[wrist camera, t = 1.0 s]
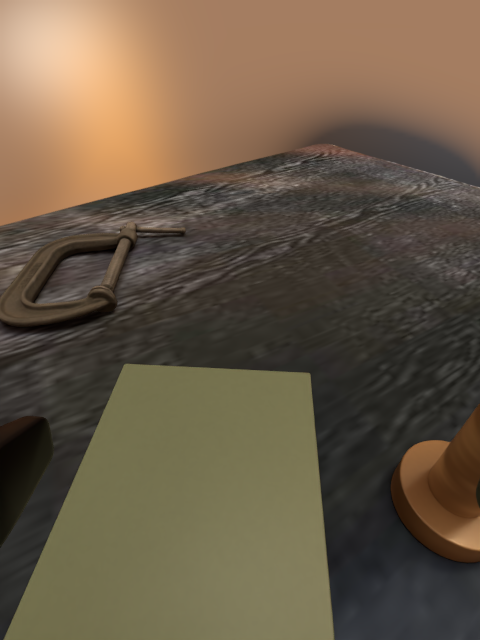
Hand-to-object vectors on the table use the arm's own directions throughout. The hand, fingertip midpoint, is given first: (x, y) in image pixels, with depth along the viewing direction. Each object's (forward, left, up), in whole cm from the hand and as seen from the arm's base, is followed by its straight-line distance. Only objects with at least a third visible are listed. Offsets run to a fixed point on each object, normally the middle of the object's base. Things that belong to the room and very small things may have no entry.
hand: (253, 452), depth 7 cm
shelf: (+3, +2, -15) cm, 16 cm away
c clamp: (+33, +11, -15) cm, 38 cm away
